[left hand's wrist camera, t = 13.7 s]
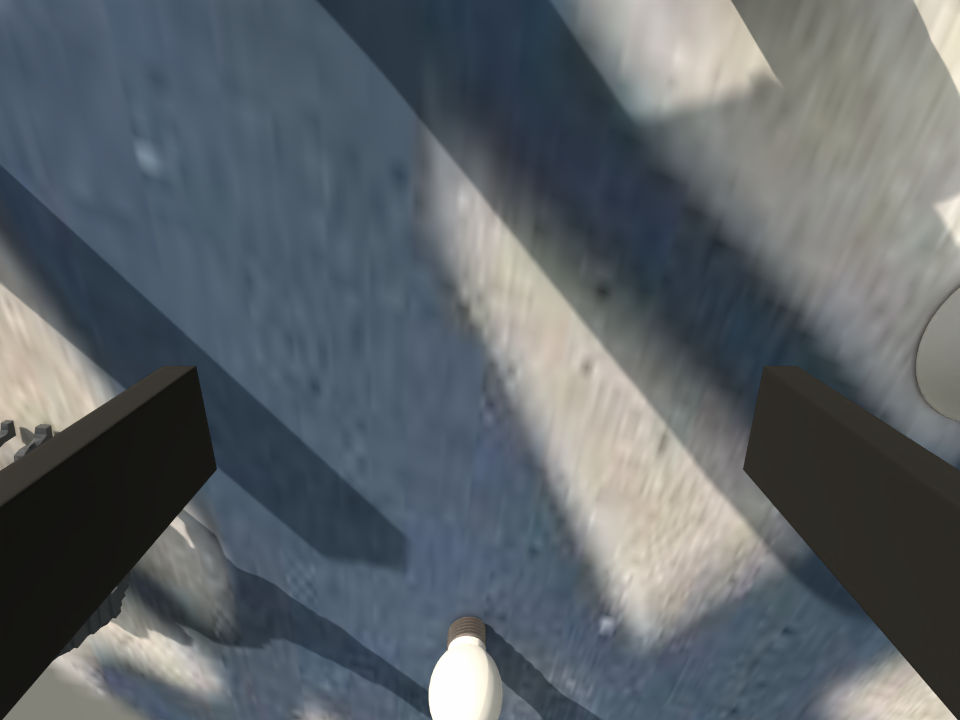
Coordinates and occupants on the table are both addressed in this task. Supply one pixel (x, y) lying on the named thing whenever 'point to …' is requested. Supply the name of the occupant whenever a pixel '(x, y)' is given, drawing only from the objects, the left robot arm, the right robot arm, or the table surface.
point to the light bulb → (466, 676)
